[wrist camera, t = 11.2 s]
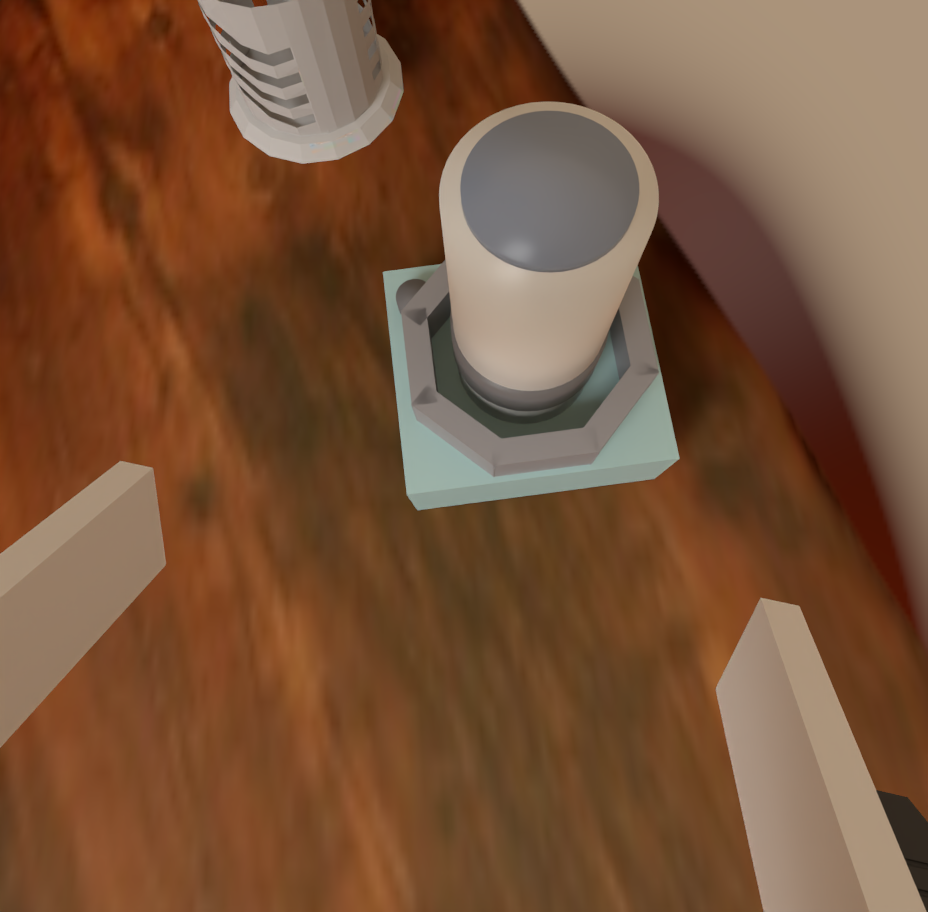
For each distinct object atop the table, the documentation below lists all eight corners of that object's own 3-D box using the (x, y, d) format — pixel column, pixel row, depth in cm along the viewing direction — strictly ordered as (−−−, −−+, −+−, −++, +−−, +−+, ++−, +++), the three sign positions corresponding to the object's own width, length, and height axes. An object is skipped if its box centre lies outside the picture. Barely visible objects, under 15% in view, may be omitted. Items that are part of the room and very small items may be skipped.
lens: (447, 308, 27) (421, 105, 16) (578, 290, 27) (640, 75, 16) (464, 435, 26) (449, 306, 15) (603, 416, 26) (689, 273, 15)
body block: (395, 313, 32) (374, 246, 26) (614, 284, 32) (642, 210, 26) (417, 510, 29) (400, 484, 24) (654, 479, 29) (695, 445, 24)
